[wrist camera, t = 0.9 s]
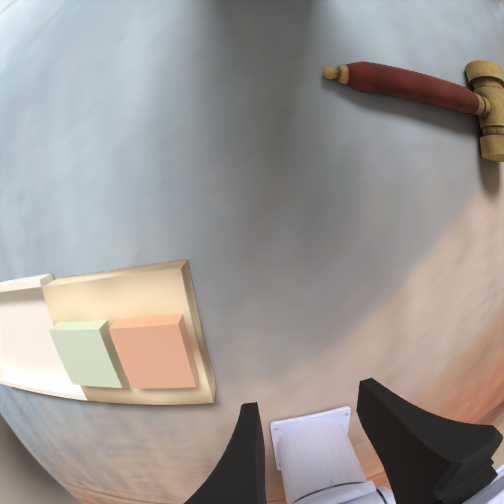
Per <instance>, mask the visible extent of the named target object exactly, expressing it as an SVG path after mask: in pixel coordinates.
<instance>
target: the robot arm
mask: <svg viewBox="0 0 504 504" xmlns="http://www.w3.org/2000/svg"><path fill="white" fill-rule="evenodd" d="M356 411H357V414H358V416H359V419H360V422H361V424H362V427H363V429H364V431H365V433H366V435H367V436H368V438H369V440H370V442H371V444H372V445H373V447H374V449H375V451H376V453H377V455H378V456H379V458H380V460H381V462H382V464H383V467H384V469H385V472H386V474H387V477H388V480H389V483H390V486H391V489H392V490H391V489H389V488H386V487H384V486H380V487H377V488H375V486H374V483H373V481H372V480H371V481H368V482H367V479H366V477H365V475H364V472H363V470H362V468H361V465H360V463H359V461H358V458H357V456H356V454H355V451H354V449H353V447H352V444H351V442H350V440H349V437H348V429H349V421H350V414H351V409H350V407H349V406H345V407H341V408H337V409H333V410H329V411H325V412H321V413H316V414H311V415H307V416H302V417H296V418H291V419H285V420H279V421H273V422H271V423H270V429H271V435H272V441H273V448H274V454H275V460H276V466H277V470H279V471H281V472H282V478H283V484H284V490H285V497H286V503H287V504H504V464H503V465H501V466H500V467H499V468H498V469H497V470H494V468H493V467H492V466H491V465H492V464H493V460H492V459H491V457H492V456H493V454H494V453H495V451H496V450H497V448H498V447H499V445H500V444H501V442H502V439H503V436H502V434H501V433H500V432H499V431H498V430H497V429H496V428H495V427H494V426H493V425H477V424H469V423H463V422H458V421H454V420H450V419H446V418H443V417H440V416H437V415H435V414H432V413H430V412H427V411H425V410H423V409H421V408H419V407H417V406H415V405H413V404H411V403H409V402H408V401H406V400H404V399H403V398H401V397H399V396H398V395H396V394H395V393H393V392H392V391H390V390H389V389H387V388H386V387H384V386H383V385H381V384H380V383H379V382H377V381H376V380H374V379H373V378H369V379H366V380H362V381H360V385H359V394H358V402H357V410H356ZM275 428H276V429H275ZM184 504H267V502H266V494H265V447H264V439H263V431H262V426H261V420H260V415H259V410H258V404H257V402H254V403H246V404H243V405H242V406H241V410H240V415H239V418H238V421H237V424H236V427H235V430H234V432H233V435H232V437H231V440H230V442H229V444H228V446H227V448H226V450H225V452H224V454H223V456H222V457H221V459H220V461H219V462H218V464H217V466H216V467H215V469H214V470H213V471H212V473H211V474H210V476H209V477H208V478H207V480H206V481H205V482H204V483H203V484H202V486H201V487H200V488H199V489H198V490H197V491H196V492H195V493H194V494H193V495H192V496H191V497H190V498H189V499H188V500H187V501H186V502H185V503H184Z"/></svg>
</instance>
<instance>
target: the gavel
mask: <svg viewBox="0 0 504 504" xmlns="http://www.w3.org/2000/svg"><path fill="white" fill-rule="evenodd" d="M465 71H466V74H467V78H468V82H469V84H470V85H472V86H473V87H474V92H472V91H470V90H469V89H467V88H465V87H463V86H460V85H457V84H454V83H451V82H448V81H445V80H442V79H439V78H435V77H432V76H429V75H425V74H421V73H418V72H414V71H410V70H405V69H401V68H397V67H392V66H387V65H382V64H376V63H370V62H357V63H352V64H347V65H339V66H338V68H337V69H335V68H333V67H326V68H324V72H323V73H324V77H325V78H327V79H334V78H337V79H338V81H339V82H340V83H342V84H347V85H349V86H351V87H354V88H356V89H358V90H360V91H363V92H369V93H377V94H384V95H390V96H396V97H401V98H407V99H412V100H417V101H421V102H426V103H430V104H434V105H438V106H442V107H446V108H450V109H453V110H457V111H460V112H463V113H473V114H476V115H478V116H479V121H480V128H481V130H482V132H483V137H481V138H480V147H481V156H482V157H483V158H484V159H488V160H492V161H500V162H504V91H503V88H504V77H503V74H502V71H501V68H500V66H499V65H497V64H496V63H494V62H491V61H487V60H475V61H472V62H470V63H468V64H467V65H466V66H465Z"/></svg>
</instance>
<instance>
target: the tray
mask: <svg viewBox="0 0 504 504" xmlns="http://www.w3.org/2000/svg"><path fill="white" fill-rule="evenodd" d="M53 280H54V277H53V274H52V273H50V274H44V275H37V276H31V277H25V278H19V279H13V280H7V281H1V282H0V384H4V385H8V386H11V387H15V388H19V389H23V390H28V391H32V392H37V393H42V394H47V395H52V396H58V397H64V398H71V399H78V400H86V401H88V400H87V398H86V396H85V395H84V393H83V391H82V389H81V387H80V385H74V384H72V382H71V380H70V378H69V376H68V374H67V372H66V370H65V368H64V365H63V363H62V361H61V359H60V357H59V354H58V352H57V350H56V347H55V345H54V342H53V340H52V337H51V335H50V332H49V330H50V329H51V328H52V327H53V326H54V325H53V322H52V319H51V316H50V313H49V310H48V307H47V304H46V301H45V298H44V294H43V291H42V288H41V287H42V286H44V285H46V284H48V283H50V282H52V281H53Z"/></svg>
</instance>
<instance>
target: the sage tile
mask: <svg viewBox="0 0 504 504" xmlns="http://www.w3.org/2000/svg"><path fill="white" fill-rule="evenodd" d="M109 328H110V326H109V323H108V320H100V321H81V322H58V323H57V324H56V325H55V326H53V327H52V328H51V329H50V330H49V332H50V335H51V337H52V340H53V342H54V345H55V347H56V350H57V352H58V354H59V357H60V359H61V361H62V363H63V365H64V368H65V370H66V372H67V374H68V376H69V378H70V380H71V382H72V384H74V385H84V386H96V387H112V388H123V386H124V384H125V382H126V380H127V376H126V374H125V372H124V369H123V367H122V364H121V362H120V359H119V357H118V354H117V351H116V349H115V346H114V343H113V341H112V338H111V335H110V332H109Z"/></svg>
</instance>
